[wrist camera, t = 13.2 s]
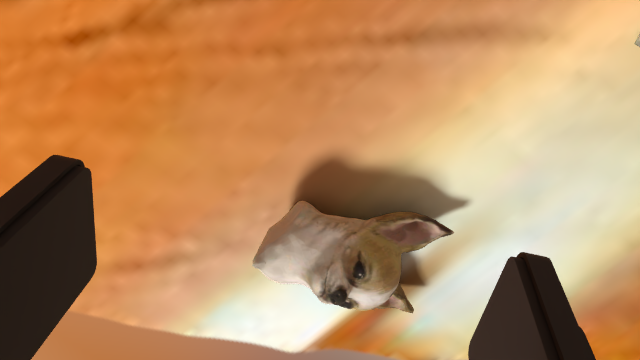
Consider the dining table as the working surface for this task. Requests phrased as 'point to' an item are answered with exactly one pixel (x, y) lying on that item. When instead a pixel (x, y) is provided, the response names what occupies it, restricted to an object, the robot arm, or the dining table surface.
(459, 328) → the dining table surface
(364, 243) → the ceramic sculpture
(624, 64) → the dining table surface
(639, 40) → the tray
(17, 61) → the dining table surface
